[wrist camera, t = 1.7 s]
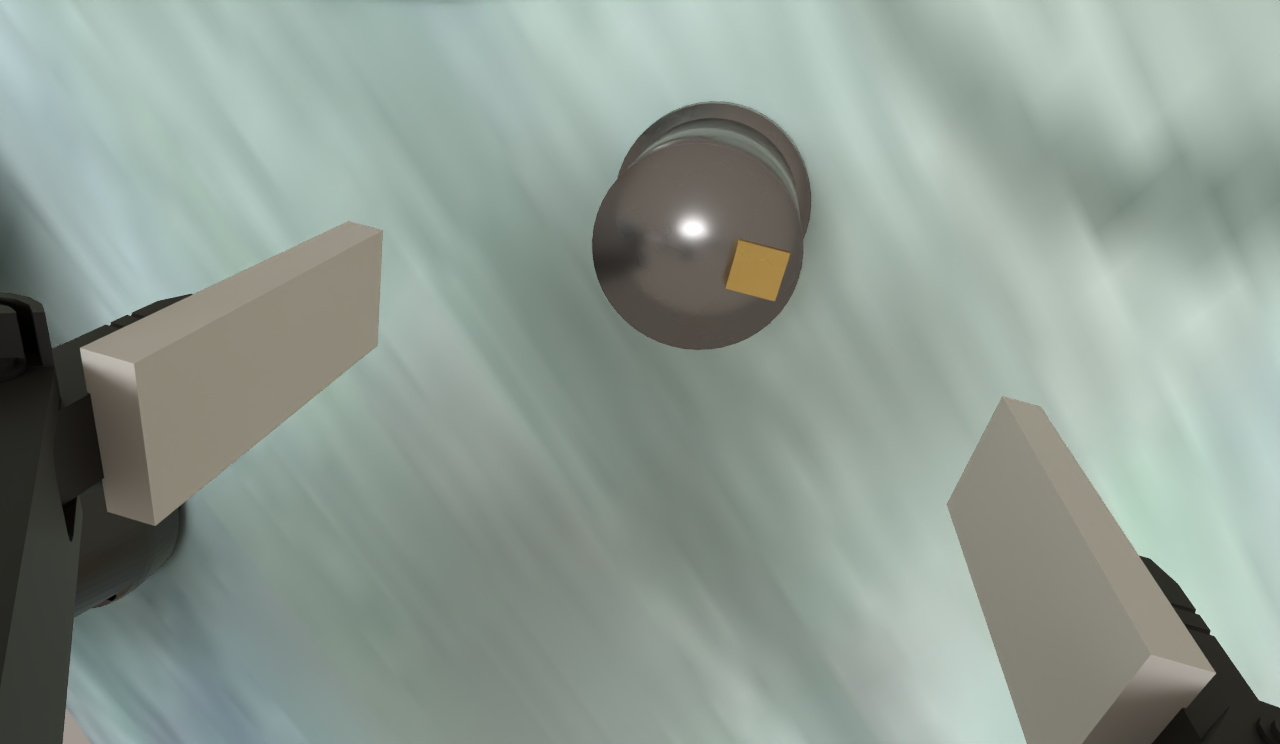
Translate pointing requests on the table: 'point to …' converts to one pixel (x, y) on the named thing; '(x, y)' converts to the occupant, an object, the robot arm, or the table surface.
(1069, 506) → the robot arm
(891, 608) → the table surface
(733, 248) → the cover
